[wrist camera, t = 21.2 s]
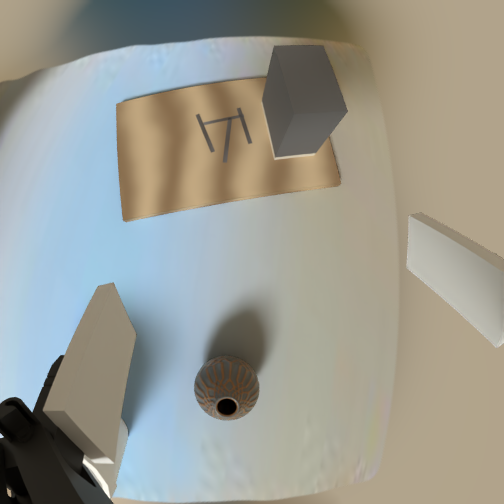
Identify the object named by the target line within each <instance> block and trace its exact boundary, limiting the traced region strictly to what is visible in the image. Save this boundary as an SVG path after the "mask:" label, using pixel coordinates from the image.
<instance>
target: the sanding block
mask: <svg viewBox="0 0 504 504" xmlns="http://www.w3.org/2000/svg"><path fill="white" fill-rule="evenodd" d="M261 105H262V109H263V113H264V117H265V122H266V126H267V130H268V135H269V139H270V143H271V148H272V152H273V157H274V160H278V159H287V158H295V157H304V156H314V155H315V154H316V152H317V151H318V150H319V149H320V147H321V146H322V145H323V143H324V142H325V141H326V139H327V138H328V137H329V135H330V134H331V133H332V131H333V130H334V129H335V127H336V126H337V125H338V124H339V122H340V121H341V120H342V118H343V117H344V116H345V114H346V113H347V112H348V110H347V108H346V105H345V102H344V99H343V96H342V93H341V90H340V88H339V85H338V82H337V79H336V77H335V74H334V72H333V69H332V66H331V64H330V61H329V59H328V56H327V54H326V52H325V49H324V47H323V46H314V45H290V46H274V48H273V52H272V57H271V61H270V66H269V70H268V74H267V79H266V83H265V88H264V92H263V97H262V101H261Z"/></svg>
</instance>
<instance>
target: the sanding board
mask: <svg viewBox="0 0 504 504" xmlns="http://www.w3.org/2000/svg"><path fill="white" fill-rule="evenodd" d="M266 79H267V78H255V79H245V80H236V81H227V82H220V83H213V84H206V85H200V86H194V87H188V88H183V89H177V90H172V91H167V92H163V93H158V94H153V95H149V96H145V97H141V98H137V99H133V100H129V101H125V102H121V103H118V104H116V120H117V152H118V170H119V184H120V196H121V206H122V215H123V221H125V222H129V221H134V220H139V219H143V218H148V217H153V216H158V215H163V214H168V213H173V212H178V211H183V210H189V209H194V208H200V207H205V206H211V205H216V204H222V203H228V202H234V201H240V200H246V199H252V198H258V197H264V196H271V195H277V194H284V193H291V192H298V191H305V190H312V189H320V188H328V187H335V186H339V185H340V184H341V181H340V177H339V173H338V169H337V165H336V161H335V158H334V154H333V150H332V146H331V143H330V139H329V137H328V138H327V139H326V141H325V142H324V143H323V145H322V146H321V147H320V149H319V150H318V151H317V152H316V154H315V155H314V156H304V157H295V158H287V159H278V160H274V157H273V152H272V148H271V143H270V139H269V135H268V130H267V126H266V122H265V117H264V113H263V109H262V105H261V101H262V97H263V92H264V88H265V83H266Z"/></svg>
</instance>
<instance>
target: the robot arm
mask: <svg viewBox="0 0 504 504" xmlns="http://www.w3.org/2000/svg"><path fill="white" fill-rule="evenodd" d="M407 269H408V270H410V271H411V272H412V273H413V274H414V275H416V276H417V277H418V278H419V279H421V280H422V281H423V282H424V283H425V284H426V285H428V286H429V287H430V288H431V289H432V290H433V291H435V292H436V293H437V294H438V295H439V296H440V297H442V298H443V299H444V300H445V301H446V302H447V303H448V304H450V305H451V306H452V307H453V308H454V309H455V310H456V311H458V312H459V313H460V314H461V315H462V316H463V317H464V318H465V319H466V320H467V321H468V322H470V323H471V324H472V325H473V326H474V327H475V328H476V329H477V330H478V331H479V332H480V333H481V334H482V335H483V336H485V337H486V338H487V339H488V340H489V341H490V342H491V343H492V344H493V345H494V346H495V347H496V348H497V347H499V346H500V345H502V344H503V343H504V259H503V258H501V257H500V256H498V255H497V254H495V253H493V252H491V251H490V250H488V249H486V248H484V247H483V246H481V245H480V244H478V243H476V242H474V241H473V240H471V239H469V238H468V237H466V236H464V235H462V234H460V233H459V232H457V231H455V230H453V229H451V228H450V227H448V226H446V225H444V224H442V223H440V222H438V221H437V220H435V219H433V218H431V217H429V216H427V215H425V214H423V213H416V214H412V215H409V229H408V252H407ZM136 335H137V334H136V332H135V330H134V328H133V326H132V324H131V321H130V319H129V317H128V315H127V313H126V310H125V308H124V306H123V303H122V301H121V299H120V296H119V294H118V292H117V289H116V287H115V284H114V282H113V283H109V284H105V285H100V286H98V287H97V289H96V291H95V293H94V295H93V297H92V299H91V300H90V302H89V304H88V306H87V308H86V310H85V312H84V314H83V316H82V319H81V321H80V323H79V325H78V327H77V329H76V331H75V333H74V335H73V338H72V340H71V342H70V344H69V346H68V349H67V351H66V353H65V355H60V356H59V358H58V359H57V360H56V361H55V362H54V363H53V365H52V366H51V368H50V371H49V373H48V375H47V378H46V380H45V382H44V387H42V390H41V392H40V394H39V397H38V400H37V402H36V405H35V407H34V410H33V413H32V412H31V411H30V409H29V408H28V407H27V406H26V405H25V404H24V402H23V401H22V400H21V399H19V398H17V397H12V398H8V399H6V400H4V401H3V402H2V403H1V404H0V433H1V434H2V435H3V436H4V438H0V504H113V502H112V501H111V500H110V498H109V497H108V496H107V494H106V493H105V492H104V490H103V489H102V488H101V486H100V485H99V483H98V482H97V481H96V479H95V478H94V476H93V475H92V473H91V472H90V470H89V469H88V468H87V467H86V466H85V465H84V464H83V459H84V454H85V455H86V456H87V457H88V458H89V459H90V460H91V461H92V462H94V463H108V464H115V456H116V448H117V441H118V433H119V426H120V420H121V413H122V407H123V401H124V395H125V390H126V384H127V379H128V374H129V369H130V364H131V359H132V354H133V349H134V344H135V340H136ZM7 488H8V489H9V490H11V497H9V496H8V494H7Z"/></svg>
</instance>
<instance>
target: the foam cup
mask: <svg viewBox="0 0 504 504" xmlns="http://www.w3.org/2000/svg"><path fill="white" fill-rule="evenodd" d="M127 440H128V428H127V426H126V424H125V423H124V421H123V419H122V418H121V420H120V426H119V433H118V441H117V448H116V456H115V464H108V463H94V462H92V461H91V460H90V459H89V458H88V457H87V456H86V455H85V454H84V459H83V464H84V465H85V466H86V467H87V468H88V469H89V470H90V472H91V473H92V475H93V476H94V478H95V479H96V481H97V482H98V483H99V485H100V486H101V488H102V489H103V490H104V492H105V493H106V494H107V496H108V497H109V498H110V500H111V498H112V496H113V493H114V491H115V489H116V487H117V485H116V480H117V477H118V473H119V469H120V465H121V462H122V458H123V454H124V451H125V447H126V444H127Z"/></svg>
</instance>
